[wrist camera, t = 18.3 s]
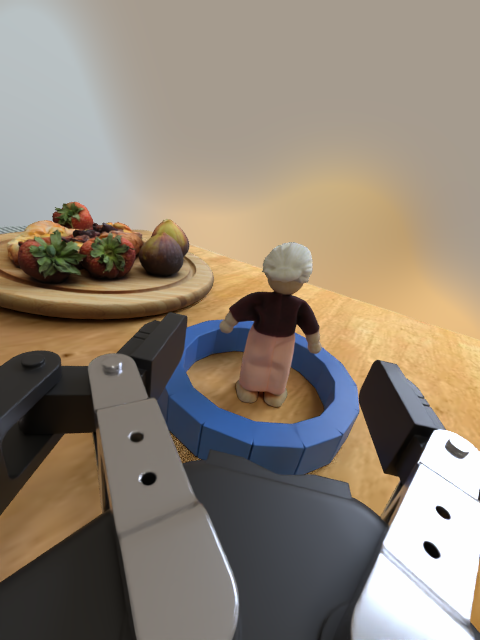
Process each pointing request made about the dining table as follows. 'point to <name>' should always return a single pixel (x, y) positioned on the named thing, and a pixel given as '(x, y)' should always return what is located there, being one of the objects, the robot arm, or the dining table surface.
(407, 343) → the dining table surface
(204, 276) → the wooden plate
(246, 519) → the robot arm
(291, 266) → the grandmother figurine
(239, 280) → the dining table surface
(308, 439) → the tape ring
